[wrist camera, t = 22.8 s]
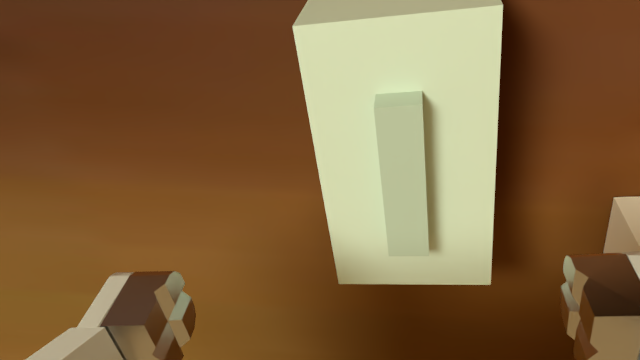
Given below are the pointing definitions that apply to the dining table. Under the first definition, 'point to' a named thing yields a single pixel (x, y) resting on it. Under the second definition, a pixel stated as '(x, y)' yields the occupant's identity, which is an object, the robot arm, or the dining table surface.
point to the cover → (405, 134)
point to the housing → (624, 226)
